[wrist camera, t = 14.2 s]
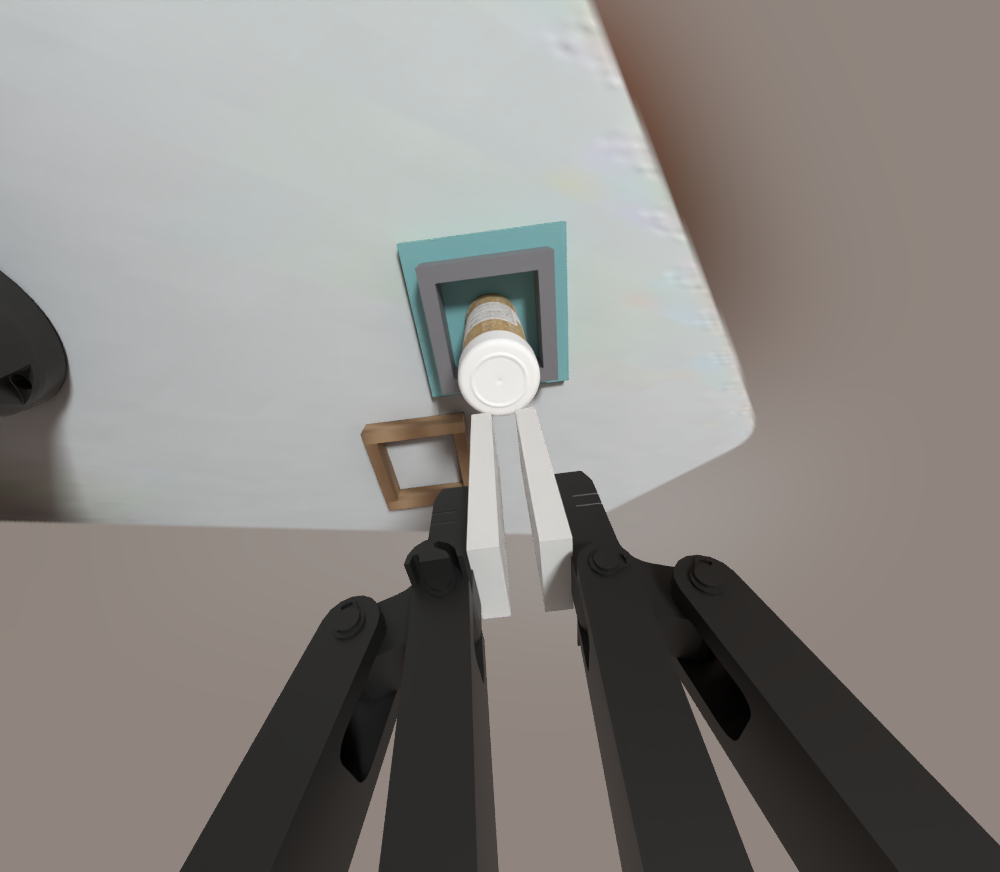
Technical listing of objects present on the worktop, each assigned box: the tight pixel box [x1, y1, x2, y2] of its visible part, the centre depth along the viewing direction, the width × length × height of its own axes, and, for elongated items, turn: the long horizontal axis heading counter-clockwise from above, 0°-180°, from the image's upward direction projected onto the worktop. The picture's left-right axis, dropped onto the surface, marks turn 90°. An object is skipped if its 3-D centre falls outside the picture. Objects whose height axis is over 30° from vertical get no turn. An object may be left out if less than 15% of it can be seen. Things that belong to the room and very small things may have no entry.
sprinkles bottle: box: [458, 293, 540, 416], centre depth 25 cm, size 5×5×13 cm
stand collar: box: [361, 412, 470, 511], centre depth 38 cm, size 10×10×2 cm
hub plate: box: [397, 221, 569, 397], centre depth 30 cm, size 13×13×4 cm
